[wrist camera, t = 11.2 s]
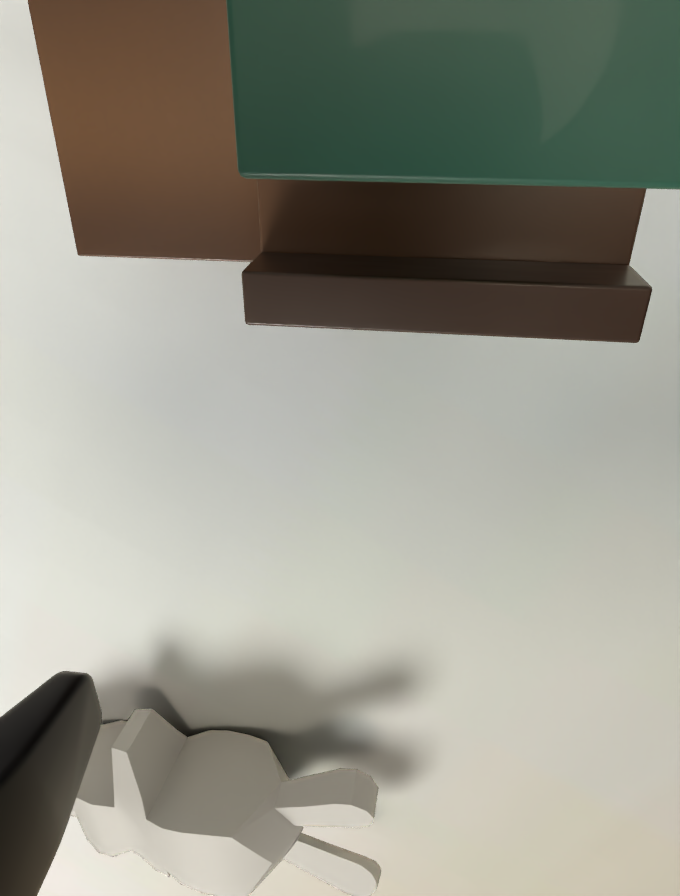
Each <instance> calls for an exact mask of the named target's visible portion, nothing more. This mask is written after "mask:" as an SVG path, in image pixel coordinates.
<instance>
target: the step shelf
mask: <svg viewBox="0 0 680 896" xmlns="http://www.w3.org/2000/svg"><path fill="white" fill-rule="evenodd" d="M28 4H29V9H30V14H31V20H32V25H33V30H34V35H35V40H36V45H37V50H38V55H39V60H40V65H41V70H42V75H43V80H44V85H45V91H46V96H47V101H48V106H49V111H50V116H51V121H52V126H53V131H54V136H55V141H56V146H57V151H58V156H59V162H60V167H61V172H62V177H63V182H64V187H65V192H66V197H67V202H68V207H69V212H70V217H71V222H72V227H73V233H74V238H75V243H76V248H77V253H78V255H79V256H100V257H128V258H155V259H182V260H210V261H237V262H251V263H250V264H249V265H248V266H247V267H246V268H245V270H244V271H243V272H242V285H243V299H244V312H245V322H246V324H248V325H267V326H288V327H309V328H330V329H352V330H373V331H394V332H415V333H437V334H458V335H479V336H500V337H522V338H543V339H564V340H585V341H607V342H628V343H637V342H639V340H640V336H641V332H642V328H643V324H644V320H645V316H646V312H647V308H648V304H649V300H650V296H651V292H652V287H651V286H650V285H649V284H648V283H647V282H646V281H645V280H644V279H643V278H642V277H641V276H640V275H639V274H638V273H637V272H636V271H635V270H634V269H633V268H632V267H631V266H629V263H630V259H631V254H632V250H633V246H634V241H635V237H636V232H637V228H638V224H639V219H640V215H641V210H642V206H643V202H644V197H645V193H646V188H608V187H566V186H525V185H483V184H442V183H401V182H359V181H318V180H277V179H246V178H244V177H242V176H240V174H239V171H238V166H237V152H236V137H235V122H234V108H233V93H232V79H231V64H230V49H229V35H228V20H227V6H226V0H28Z"/></svg>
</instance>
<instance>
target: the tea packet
mask: <svg viewBox="0 0 680 896" xmlns="http://www.w3.org/2000/svg"><path fill="white" fill-rule="evenodd" d="M226 6H227V20H228V35H229V49H230V64H231V79H232V93H233V108H234V122H235V137H236V152H237V166H238V171H239V174H240V176H242V177H244V178H246V179H277V180H318V181H359V182H401V183H442V184H483V185H525V186H566V187H608V188H649V189H680V0H226Z"/></svg>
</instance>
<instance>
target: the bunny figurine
mask: <svg viewBox="0 0 680 896" xmlns="http://www.w3.org/2000/svg"><path fill="white" fill-rule="evenodd" d="M377 795H378V786H377V785H376V783H375V782H374V780H373V778H372V777H371V776H369V775H367V774H365V773H363V772H362V771H360V770H358V769H344V768H340V769H336V770H331V771H327V772H323V773H318V774H314V775H310V776H305V777H301V778H297V779H293V780H289V778H288V776H287V775H286V773H285V771H284V769H283V768H282V766H281V764H280V762H279V761H278V759H277V757H276V755H275V754H274V752H273V750H272V748H271V747H270V745H269V743H268V742H267V741H264V740H262V739H259V738H256V737H253V736H250V735H247V734H243V733H238V732H233V731H221V730H209V731H206V732H202V733H199V734H196V735H193V736H190V737H186V736H185V735H184V734H182V733H181V732H179V731H178V730H177V729H175V728H174V727H173V726H172V725H171V724H170V723H168V722H167V721H166V720H165V719H164V718H163V717H161V716H160V715H159V714H158V713H157V712H156V711H154V710H153V709H135V710H134V711H133V713H132V715H131V716H130V718H129V720H128V721H123V720H120V721H116V722H112V723H108V724H104V725H101V726H100V730H99V733H98V736H97V739H96V742H95V745H94V748H93V750H92V753H91V756H90V759H89V762H88V765H87V768H86V771H85V774H84V777H83V780H82V783H81V786H80V789H79V791H78V794H77V797H76V800H75V803H74V806H73V809H72V812H71V815H70V816H73V817H77V819H78V821H79V823H80V825H81V828H82V830H83V832H84V835H85V837H86V839H87V840H88V841H89V843H90V844H91V845H92V846H93V847H94V848H95V849H96V850H97V852H98V853H102V854H105V855H108V856H112V857H114V856H117V855H120V854H123V853H126V852H129V851H132V852H134V853H136V854H137V855H139V856H140V857H142V858H143V859H144V860H145V861H146V862H147V863H148V864H149V865H150V866H151V867H152V868H154V869H155V870H156V871H158V872H160V873H162V874H164V875H166V876H168V877H170V875H171V876H172V877H174V878H175V879H176V880H177V881H178V882H179V883H180V884H181V885H184V886H186V887H188V888H191V889H193V890H196V891H198V892H200V893H204V894H208V895H213V896H249V895H250V894H251V893H252V892H253V891H254V890H255V889H256V888H257V886H258V885H259V884H260V883H261V882H262V881H263V880H264V879H265V878H266V877H267V876H268V875H269V874H270V872H271V871H272V870H273V869H274V868H275V867H276V866H277V865H278V864H279V863H280V862H281V861H282V860H283V859H284V860H285V861H287V862H289V863H291V864H293V865H294V866H296V867H298V868H300V869H301V870H303V871H305V872H307V873H308V874H310V875H312V876H314V877H316V878H317V879H319V880H321V881H323V882H325V883H327V884H329V885H331V886H333V887H334V888H336V889H338V890H340V891H342V892H344V893H347V894H349V895H351V896H371V895H372V894H373V893H374V892H375V890H376V889H377V886H378V882H379V879H380V875H381V868H380V866H379V865H378V863H377V862H376V861H374V860H372V859H369V858H367V857H365V856H363V855H360V854H357V853H354V852H351V851H348V850H346V849H343V848H340V847H337V846H334V845H332V844H329V843H326V842H324V841H321V840H319V839H316V838H314V837H311V836H308V835H306V834H303V833H301V832H302V830H303V826H309V827H341V828H362V827H368V826H370V825H371V824H372V823H373V821H374V815H375V808H376V801H377Z"/></svg>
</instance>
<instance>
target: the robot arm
mask: <svg viewBox="0 0 680 896" xmlns="http://www.w3.org/2000/svg"><path fill="white" fill-rule="evenodd" d="M101 720H102V712H101V707H100V704H99V700H98V697H97V693H96V689H95V686H94V682H93V679H92V677H91V676H90V675H89V674H87V673H80V672H70V671H62V672H60V673H57V674H56V675H54V676H53V677H51V678H50V679H49V680H48V681H46V682H45V683H44V684H42V685H41V686H40V687H39V688H37V689H36V690H35V691H33V692H32V693H31V694H30V695H28V696H27V697H26V698H24V699H23V700H22V701H21V702H19V703H18V704H17V705H15V706H14V707H13V708H12V709H10V710H9V711H8V712H7V713H5V714H4V715H3V716H1V717H0V896H37V894H38V892H39V890H40V888H41V885H42V883H43V881H44V879H45V877H46V874H47V872H48V870H49V868H50V866H51V863H52V861H53V859H54V857H55V854H56V852H57V850H58V847H59V845H60V843H61V840H62V837H63V834H64V832H65V829H66V826H67V824H68V821H69V818H70V815H71V812H72V809H73V806H74V803H75V800H76V797H77V794H78V791H79V789H80V786H81V783H82V780H83V777H84V774H85V771H86V768H87V765H88V762H89V759H90V756H91V753H92V750H93V748H94V745H95V742H96V739H97V736H98V733H99V730H100V726H101Z"/></svg>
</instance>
